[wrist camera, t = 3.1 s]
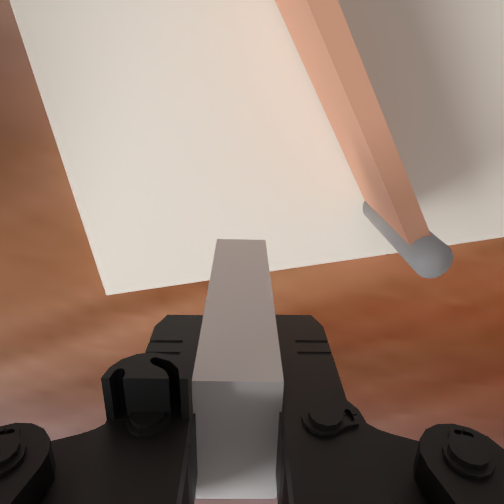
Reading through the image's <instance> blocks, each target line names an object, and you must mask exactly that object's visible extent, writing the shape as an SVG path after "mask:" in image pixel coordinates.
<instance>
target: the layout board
mask: <svg viewBox="0 0 504 504" xmlns="http://www.w3.org/2000/svg"><path fill="white" fill-rule="evenodd" d="M338 2H339V4H340V7H341V9H342V12H343V15H344V17H345V20H346V22H347V25H348V27H349V30H350V32H351V35H352V37H353V40H354V42H355V45H356V47H357V50H358V52H359V55H360V57H361V60H362V62H363V65H364V67H365V70H366V73H367V75H368V78H369V80H370V83H371V85H372V88H373V90H374V93H375V95H376V98H377V100H378V103H379V105H380V108H381V110H382V113H383V115H384V118H385V120H386V123H387V125H388V128H389V131H390V133H391V136H392V138H393V141H394V143H395V146H396V148H397V151H398V153H399V156H400V158H401V161H402V163H403V166H404V168H405V171H406V173H407V176H408V178H409V181H410V183H411V186H412V189H413V191H414V194H415V196H416V199H417V201H418V204H419V206H420V209H421V211H422V214H423V216H424V219H425V221H426V224H427V226H428V229H429V231H430V232H432V233H433V234H434V235H435V236H436V237H438V238H439V239H440V240H441V241H443V242H444V243H445V244H446V245H453V244H460V243H467V242H474V241H481V240H487V239H494V238H501V237H504V0H338ZM10 3H11V6H12V9H13V13H14V16H15V19H16V22H17V25H18V28H19V31H20V34H21V37H22V40H23V43H24V46H25V49H26V52H27V55H28V58H29V61H30V64H31V67H32V70H33V73H34V76H35V79H36V82H37V85H38V88H39V92H40V95H41V98H42V101H43V104H44V107H45V110H46V113H47V116H48V119H49V122H50V125H51V128H52V131H53V134H54V137H55V140H56V143H57V146H58V149H59V152H60V155H61V158H62V161H63V164H64V167H65V170H66V174H67V177H68V180H69V183H70V186H71V189H72V192H73V195H74V198H75V201H76V204H77V207H78V210H79V213H80V216H81V219H82V222H83V225H84V228H85V231H86V234H87V237H88V240H89V243H90V246H91V249H92V252H93V256H94V259H95V262H96V265H97V268H98V271H99V274H100V277H101V280H102V283H103V286H104V289H105V292H106V295H111V294H118V293H125V292H132V291H139V290H146V289H152V288H159V287H166V286H173V285H180V284H187V283H193V282H200V281H207V280H210V276H211V270H212V264H213V259H214V253H215V248H216V242H217V239H246V240H265V241H266V248H267V256H268V264H269V271H275V270H282V269H289V268H296V267H303V266H310V265H316V264H323V263H330V262H337V261H344V260H351V259H357V258H364V257H371V256H378V255H385V254H392V253H398V252H397V250H396V249H395V248H394V247H393V246H392V245H391V244H390V243H389V242H388V240H387V239H386V238H385V237H384V236H383V235H382V234H381V233H380V232H379V230H378V229H377V228H376V227H375V226H374V225H373V224H372V223H371V222H370V220H369V219H368V218H367V217H366V216H365V215H364V213H363V203H364V201H365V200H364V198H363V195H362V193H361V191H360V189H359V187H358V184H357V182H356V180H355V178H354V175H353V173H352V171H351V169H350V167H349V164H348V162H347V160H346V158H345V155H344V153H343V151H342V149H341V147H340V144H339V142H338V140H337V138H336V135H335V133H334V131H333V129H332V127H331V124H330V122H329V120H328V118H327V115H326V113H325V111H324V109H323V107H322V104H321V102H320V100H319V98H318V95H317V93H316V91H315V89H314V86H313V84H312V82H311V80H310V78H309V75H308V73H307V71H306V69H305V66H304V64H303V62H302V60H301V58H300V55H299V53H298V51H297V49H296V46H295V44H294V42H293V40H292V38H291V35H290V33H289V31H288V29H287V26H286V24H285V22H284V20H283V18H282V15H281V13H280V11H279V9H278V6H277V4H276V2H275V0H10Z"/></svg>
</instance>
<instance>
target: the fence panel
mask: <svg viewBox="0 0 504 504" xmlns="http://www.w3.org/2000/svg"><path fill="white" fill-rule="evenodd" d="M275 2H276V4H277V6H278V9H279V11H280V13H281V15H282V18H283V20H284V22H285V24H286V26H287V29H288V31H289V33H290V35H291V38H292V40H293V42H294V44H295V46H296V49H297V51H298V53H299V55H300V58H301V60H302V62H303V64H304V66H305V69H306V71H307V73H308V75H309V78H310V80H311V82H312V84H313V86H314V89H315V91H316V93H317V95H318V98H319V100H320V102H321V104H322V107H323V109H324V111H325V113H326V115H327V118H328V120H329V122H330V124H331V127H332V129H333V131H334V133H335V135H336V138H337V140H338V142H339V144H340V147H341V149H342V151H343V153H344V155H345V158H346V160H347V162H348V164H349V167H350V169H351V171H352V173H353V175H354V178H355V180H356V182H357V184H358V187H359V189H360V191H361V193H362V195H363V198H364V200H365V201H364V203H363V213H364V215H365V216H366V217H367V218H368V219H369V220H370V222H371V223H372V224H373V225H374V226H375V227H376V228H377V229H378V230H379V232H380V233H381V234H382V235H383V236H384V237H385V238H386V239H387V240H388V242H389V243H390V244H391V245H392V246H393V247H394V248H395V249H396V250H397V252H398V253H399V254H400V255H401V256H402V257H403V258H404V259H405V260H406V262H407V263H408V264H409V265H410V266H411V267H412V268H413V269H414V270H415V272H416V273H417V274H418V275H420V276H422V277H424V278H435V277H438V276H440V275H442V274H444V273H445V272H446V271H447V270H448V269H449V268H450V266H451V264H452V261H453V253H452V250H451V249H450V247H449V246H447V245H446V244H445V243H444V242H443V241H441V240H440V239H439V238H438V237H436V236H435V235H434V234H433V233H432V232H430V231H429V229H428V226H427V224H426V221H425V219H424V216H423V214H422V211H421V209H420V206H419V204H418V201H417V199H416V196H415V194H414V191H413V189H412V186H411V183H410V181H409V178H408V176H407V173H406V171H405V168H404V166H403V163H402V161H401V158H400V156H399V153H398V151H397V148H396V146H395V143H394V141H393V138H392V136H391V133H390V131H389V128H388V125H387V123H386V120H385V118H384V115H383V113H382V110H381V108H380V105H379V103H378V100H377V98H376V95H375V93H374V90H373V88H372V85H371V83H370V80H369V78H368V75H367V73H366V70H365V67H364V65H363V62H362V60H361V57H360V55H359V52H358V50H357V47H356V45H355V42H354V40H353V37H352V35H351V32H350V30H349V27H348V25H347V22H346V20H345V17H344V15H343V12H342V9H341V7H340V4H339V2H338V0H275Z"/></svg>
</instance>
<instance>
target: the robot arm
mask: <svg viewBox="0 0 504 504" xmlns="http://www.w3.org/2000/svg"><path fill="white" fill-rule="evenodd" d="M101 381H102V388H103V395H104V402H105V409H106V417H107V421H106V423H105V424H104V425H102V426H100V427H98V428H96V429H94V430H91V431H88V432H85V433H82V434H78V435H74V436H70V437H66V438H62V439H58V440H54V441H50V438H49V436H48V435H47V433H46V431H45V430H44V429H43V428H41V427H39V426H37V425H34V424H32V423H13V424H9V425H5V426H0V504H194V500H195V492H196V499H276V493H277V499H278V504H504V449H503V448H501V447H500V446H499V445H498V444H496V443H495V442H494V441H493V440H491V439H490V438H489V437H487V436H485V435H483V434H481V433H479V432H477V431H475V430H473V429H471V428H468V427H464V426H460V425H456V424H437V425H435V426H432V427H430V428H428V429H426V430H425V432H424V433H423V435H422V436H421V438H420V440H419V441H416V440H412V439H408V438H404V437H401V436H397V435H393V434H390V433H387V432H384V431H381V430H378V429H376V428H374V427H373V426H371V425H369V424H367V423H366V421H365V420H364V418H363V416H362V415H361V413H360V411H359V410H358V409H357V408H356V407H355V406H353V405H352V404H351V403H350V402H348V401H347V399H346V396H345V393H344V390H343V387H342V384H341V381H340V378H339V375H338V371H337V368H336V365H335V362H334V359H333V356H332V355H331V350H330V347H329V343H328V340H327V337H326V334H325V331H324V328H323V326H322V325H321V324H320V323H319V322H318V321H317V320H315V319H314V318H313V317H312V316H311V315H275V309H274V302H273V294H272V287H271V279H270V271H269V264H268V256H267V248H266V241H265V240H246V239H217V242H216V248H215V253H214V259H213V264H212V270H211V276H210V281H209V287H208V292H207V298H206V304H205V309H204V315H167V316H166V317H165V318H164V319H163V320H161V321H160V322H159V323H158V324H157V325H156V326H155V327H154V330H153V333H152V336H151V338H150V343H149V344H148V346H147V349H146V353H143V354H136V355H133V356H130V357H127V358H125V359H122V360H120V361H119V362H117V363H116V364H114V365H113V366H111V367H110V368H109V369H108V370H107V371H106V373H105V374H104V375H103V376H102V378H101Z"/></svg>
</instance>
